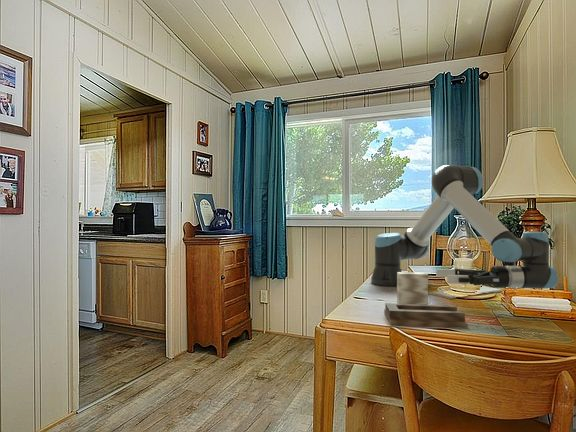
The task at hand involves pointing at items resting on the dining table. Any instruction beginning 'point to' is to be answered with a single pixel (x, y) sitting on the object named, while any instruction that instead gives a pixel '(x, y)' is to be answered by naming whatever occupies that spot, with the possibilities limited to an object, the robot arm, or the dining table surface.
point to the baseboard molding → (482, 290)
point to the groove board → (425, 315)
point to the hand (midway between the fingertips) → (441, 275)
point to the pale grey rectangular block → (412, 288)
